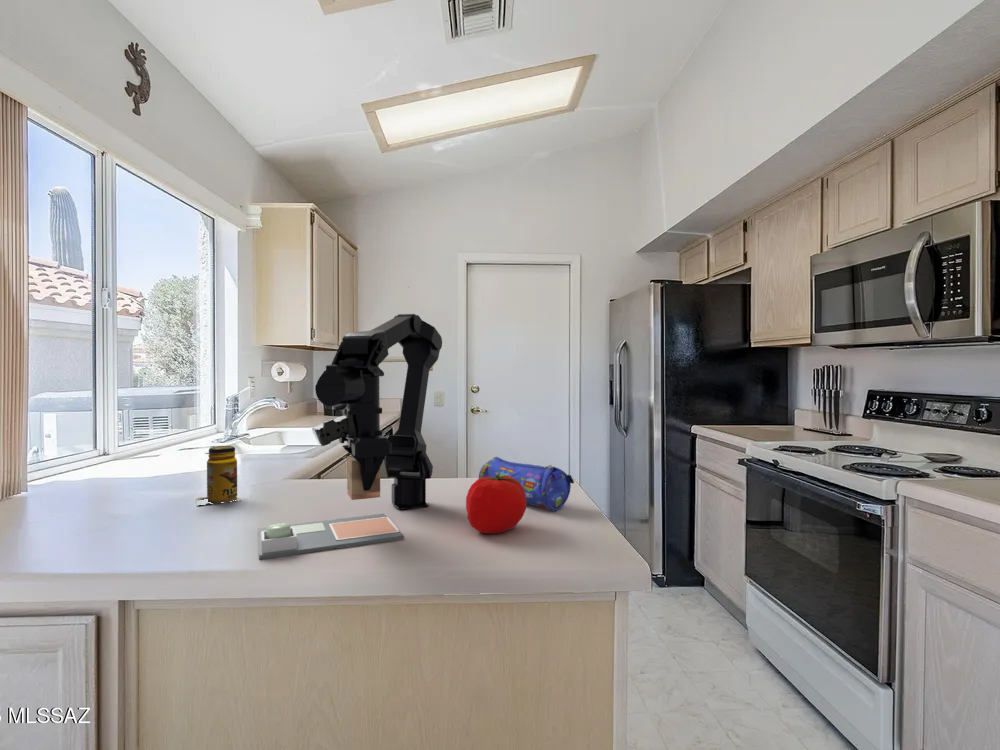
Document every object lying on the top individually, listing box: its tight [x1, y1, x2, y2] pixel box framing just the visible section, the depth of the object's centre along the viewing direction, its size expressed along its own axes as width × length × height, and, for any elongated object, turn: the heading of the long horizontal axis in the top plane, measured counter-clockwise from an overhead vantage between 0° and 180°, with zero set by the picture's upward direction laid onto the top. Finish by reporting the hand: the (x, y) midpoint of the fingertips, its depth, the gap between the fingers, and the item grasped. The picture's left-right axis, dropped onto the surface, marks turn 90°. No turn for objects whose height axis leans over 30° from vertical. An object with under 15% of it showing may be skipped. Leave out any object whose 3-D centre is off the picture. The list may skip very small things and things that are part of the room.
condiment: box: [194, 445, 241, 503], centre depth 118 cm, size 7×8×12 cm
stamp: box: [346, 455, 381, 501], centre depth 96 cm, size 5×5×7 cm
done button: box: [266, 522, 291, 539], centre depth 87 cm, size 4×4×2 cm
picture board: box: [257, 513, 404, 560], centre depth 94 cm, size 23×15×3 cm, turn 115°
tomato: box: [465, 475, 527, 535], centre depth 98 cm, size 11×13×10 cm
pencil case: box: [478, 456, 575, 513], centre depth 117 cm, size 22×9×10 cm, turn 46°
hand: (363, 487), depth 96 cm, fingers closed on stamp, 5 cm apart
